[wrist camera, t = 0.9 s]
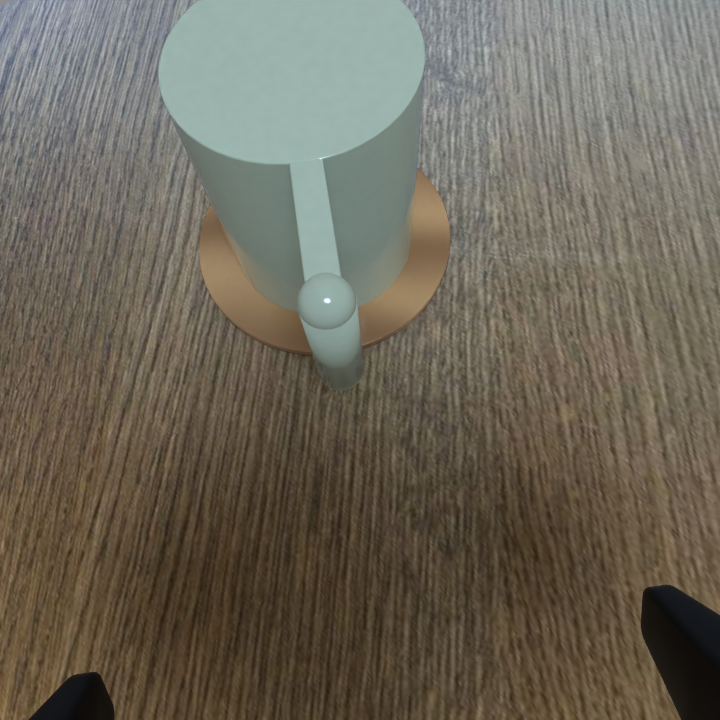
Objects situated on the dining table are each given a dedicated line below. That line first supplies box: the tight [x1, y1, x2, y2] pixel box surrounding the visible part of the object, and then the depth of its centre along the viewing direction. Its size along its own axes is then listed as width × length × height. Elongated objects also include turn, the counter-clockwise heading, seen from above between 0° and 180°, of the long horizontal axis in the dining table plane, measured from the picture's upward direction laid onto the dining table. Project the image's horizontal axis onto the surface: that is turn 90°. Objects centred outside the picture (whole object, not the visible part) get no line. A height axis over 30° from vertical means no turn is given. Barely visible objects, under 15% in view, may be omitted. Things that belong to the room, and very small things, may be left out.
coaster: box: [199, 168, 451, 355], centre depth 27 cm, size 12×12×1 cm
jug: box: [158, 0, 425, 391], centre depth 22 cm, size 15×8×10 cm, turn 9°
